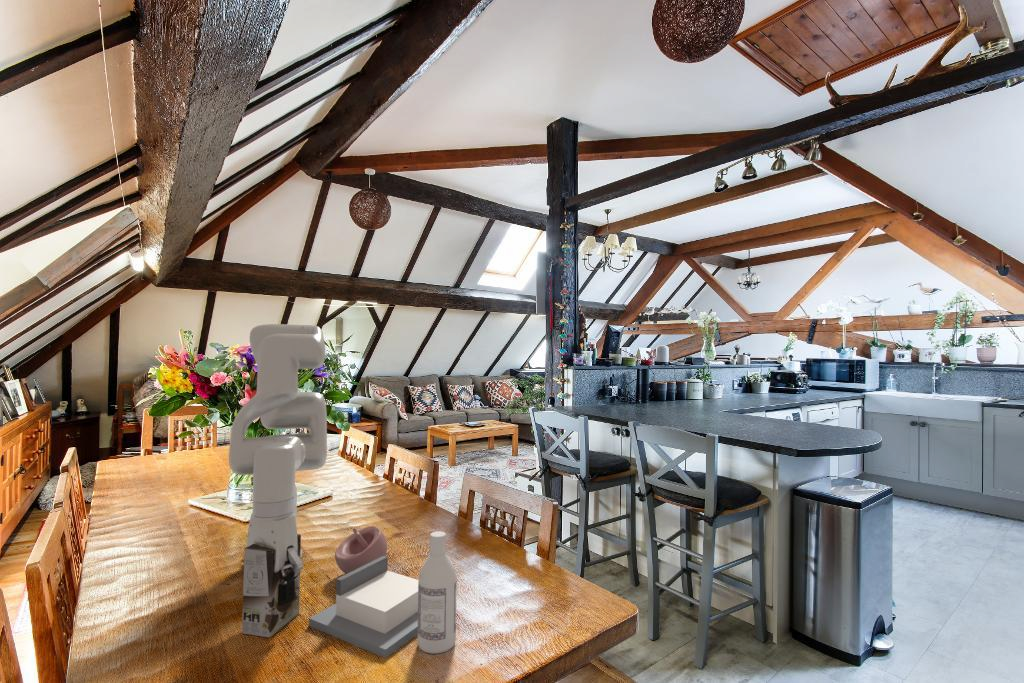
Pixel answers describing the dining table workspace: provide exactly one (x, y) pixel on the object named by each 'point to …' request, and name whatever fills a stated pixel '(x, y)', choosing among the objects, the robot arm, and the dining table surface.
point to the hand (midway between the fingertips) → (272, 596)
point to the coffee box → (265, 593)
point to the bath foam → (437, 599)
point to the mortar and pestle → (361, 548)
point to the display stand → (372, 609)
